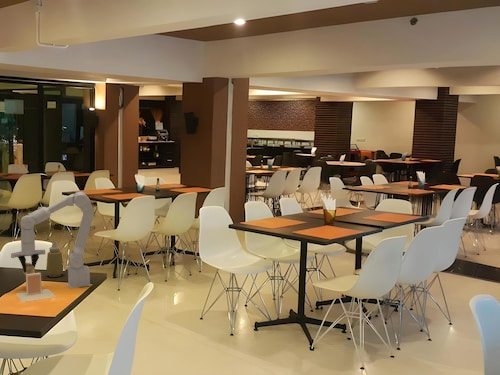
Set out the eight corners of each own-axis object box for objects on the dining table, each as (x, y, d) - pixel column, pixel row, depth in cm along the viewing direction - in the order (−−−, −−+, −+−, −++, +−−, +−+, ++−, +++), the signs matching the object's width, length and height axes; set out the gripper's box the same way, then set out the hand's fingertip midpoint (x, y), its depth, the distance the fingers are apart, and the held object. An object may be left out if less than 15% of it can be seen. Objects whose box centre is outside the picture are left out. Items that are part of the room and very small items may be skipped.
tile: (40, 292, 250) (40, 272, 249) (41, 293, 249) (41, 273, 248) (26, 294, 247) (25, 274, 246) (27, 295, 246) (26, 275, 245)
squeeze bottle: (66, 274, 282) (65, 239, 280) (59, 278, 274) (58, 242, 272) (51, 273, 283) (50, 238, 281) (43, 277, 275) (42, 241, 273)
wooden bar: (29, 271, 260) (29, 262, 259) (34, 276, 251) (34, 267, 251) (23, 272, 258) (22, 263, 258) (27, 277, 250) (27, 267, 249)
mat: (48, 289, 255) (47, 288, 255) (56, 297, 244) (56, 296, 244) (15, 294, 247) (15, 293, 247) (22, 303, 236) (22, 302, 236)
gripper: (42, 239, 260) (43, 267, 262) (9, 242, 252) (10, 271, 254) (46, 241, 254) (47, 270, 256) (12, 245, 246) (13, 275, 248)
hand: (28, 271), depth 254 cm, fingers closed on wooden bar, 3 cm apart
